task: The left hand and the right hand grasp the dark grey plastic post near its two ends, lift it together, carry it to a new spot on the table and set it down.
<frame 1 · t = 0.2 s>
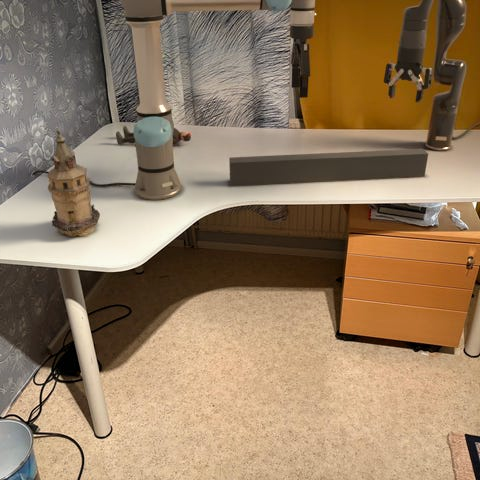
left hand: (299, 92, 180), 28 cm above the table, tool pointing down, fingers open, 13 cm apart
right hand: (404, 99, 167), 28 cm above the table, tool pointing down, fingers open, 8 cm apart
post: (327, 178, 186), on the table
toy: (155, 143, 220), on the table
miniature building: (78, 229, 156), on the table
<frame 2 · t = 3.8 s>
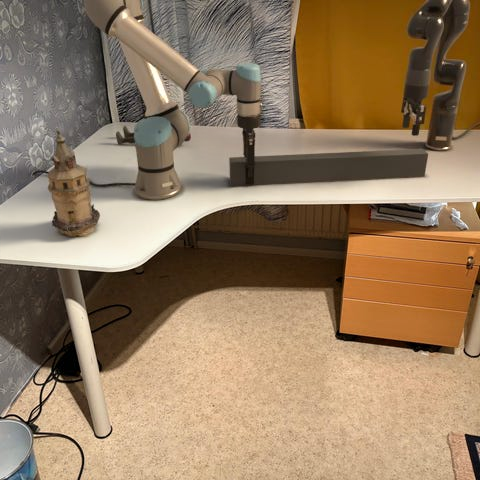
left hand: (249, 180, 183), 1 cm above the table, tool pointing down, fingers closed on post, 5 cm apart
right hand: (410, 131, 180), 16 cm above the table, tool pointing down, fingers open, 8 cm apart
post: (327, 178, 186), on the table, touching left hand
everything else where it was.
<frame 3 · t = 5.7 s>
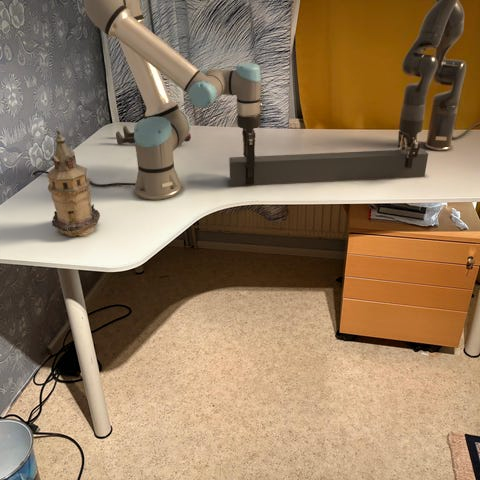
left hand: (249, 180, 183), 1 cm above the table, tool pointing down, fingers closed on post, 5 cm apart
right hand: (405, 164, 186), 4 cm above the table, tool pointing down, fingers closed on post, 5 cm apart
post: (327, 178, 186), on the table, touching left hand, right hand
everything else where it was.
when the left hand's fingers open (2 cm above the table, at t = 11.7 s): post moves 1 cm, on the table.
when the right hand's fingers open (5 cm above the table, at t = 11.9 s): post stays where it is, on the table.
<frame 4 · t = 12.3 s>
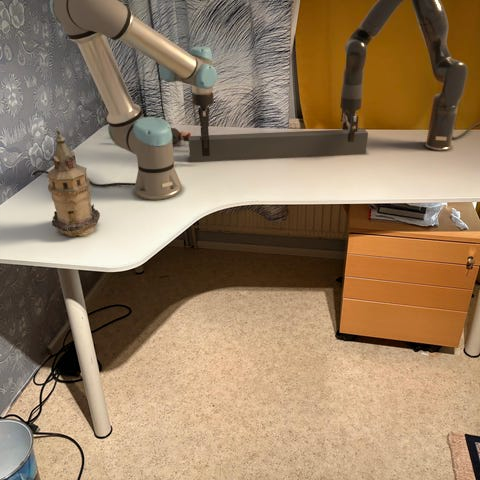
left hand: (205, 149, 202), 4 cm above the table, tool pointing down, fingers open, 13 cm apart
right hand: (347, 138, 205), 6 cm above the table, tool pointing down, fingers open, 8 cm apart
post: (277, 155, 206), on the table
everything else where it was.
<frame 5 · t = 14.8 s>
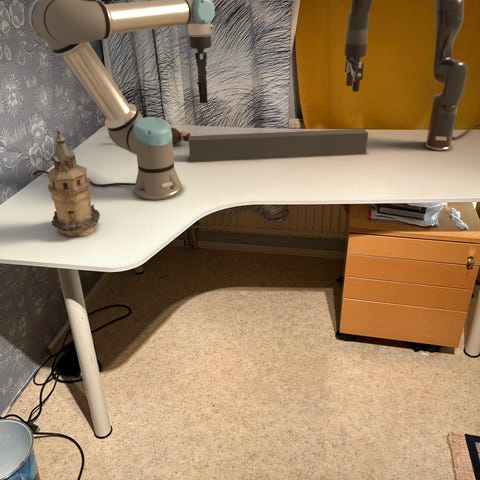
left hand: (203, 97, 192), 23 cm above the table, tool pointing down, fingers open, 13 cm apart
right hand: (352, 88, 196), 25 cm above the table, tool pointing down, fingers open, 8 cm apart
nothing on the table moved.
at the end: post inside the target area (0.4 cm from its centre), on the table; post tilted 0°; post never tilted more than 1° during the clip; both hands held the post at the same time; the left hand is holding nothing; the right hand is holding nothing; post at rest at the end (0.0 cm/s) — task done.
